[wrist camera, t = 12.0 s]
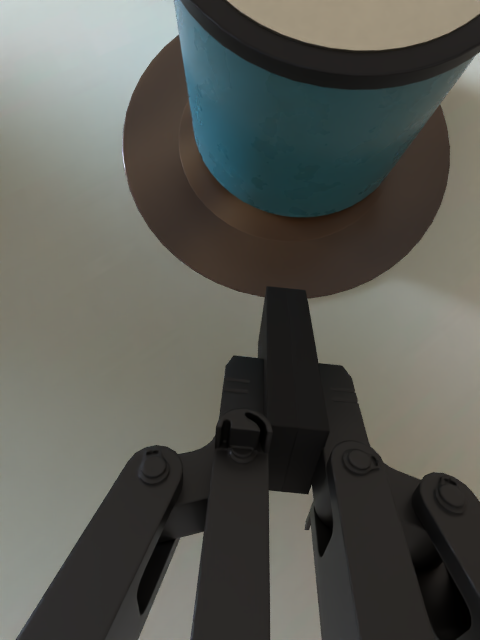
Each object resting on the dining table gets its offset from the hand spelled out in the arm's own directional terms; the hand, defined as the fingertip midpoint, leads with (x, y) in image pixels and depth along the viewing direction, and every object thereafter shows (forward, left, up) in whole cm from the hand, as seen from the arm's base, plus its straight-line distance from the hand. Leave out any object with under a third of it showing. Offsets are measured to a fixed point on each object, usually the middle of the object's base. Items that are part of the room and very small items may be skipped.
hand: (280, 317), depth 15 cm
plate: (-6, +10, -5) cm, 13 cm away
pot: (-7, +11, -5) cm, 13 cm away
